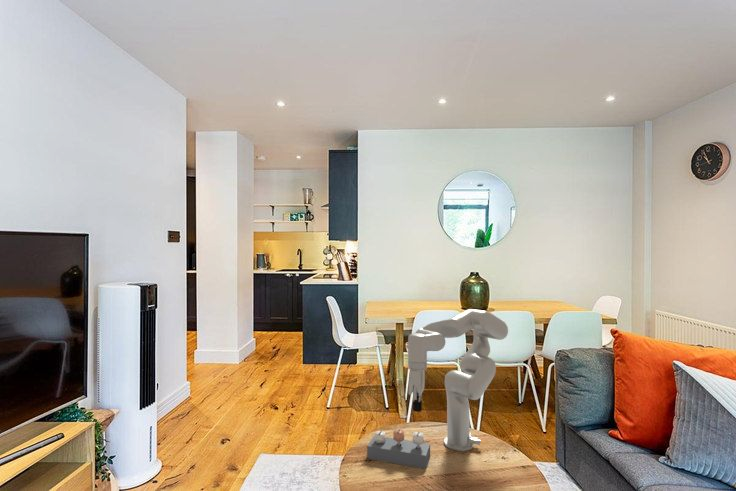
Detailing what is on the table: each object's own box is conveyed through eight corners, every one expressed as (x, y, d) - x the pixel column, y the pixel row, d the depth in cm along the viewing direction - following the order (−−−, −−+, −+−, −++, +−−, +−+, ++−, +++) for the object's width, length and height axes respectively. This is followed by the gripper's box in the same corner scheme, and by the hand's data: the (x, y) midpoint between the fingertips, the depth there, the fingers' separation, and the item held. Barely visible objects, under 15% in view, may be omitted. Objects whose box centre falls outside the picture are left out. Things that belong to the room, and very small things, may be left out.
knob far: (386, 446, 161) (386, 431, 161) (383, 451, 157) (383, 435, 157) (376, 445, 162) (376, 429, 162) (373, 450, 158) (373, 434, 158)
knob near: (424, 448, 156) (424, 432, 156) (422, 453, 152) (422, 436, 152) (413, 446, 157) (413, 430, 157) (411, 451, 153) (411, 435, 153)
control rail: (430, 456, 158) (430, 443, 158) (426, 468, 148) (425, 455, 148) (374, 447, 165) (374, 435, 165) (367, 458, 156) (367, 446, 156)
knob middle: (405, 445, 158) (405, 429, 158) (402, 450, 154) (402, 433, 154) (394, 443, 160) (394, 427, 160) (392, 448, 155) (392, 432, 156)
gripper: (412, 359, 164) (412, 403, 163) (404, 368, 149) (403, 416, 149) (429, 361, 161) (429, 405, 161) (423, 370, 147) (423, 419, 146)
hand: (417, 410), depth 155 cm, fingers closed
